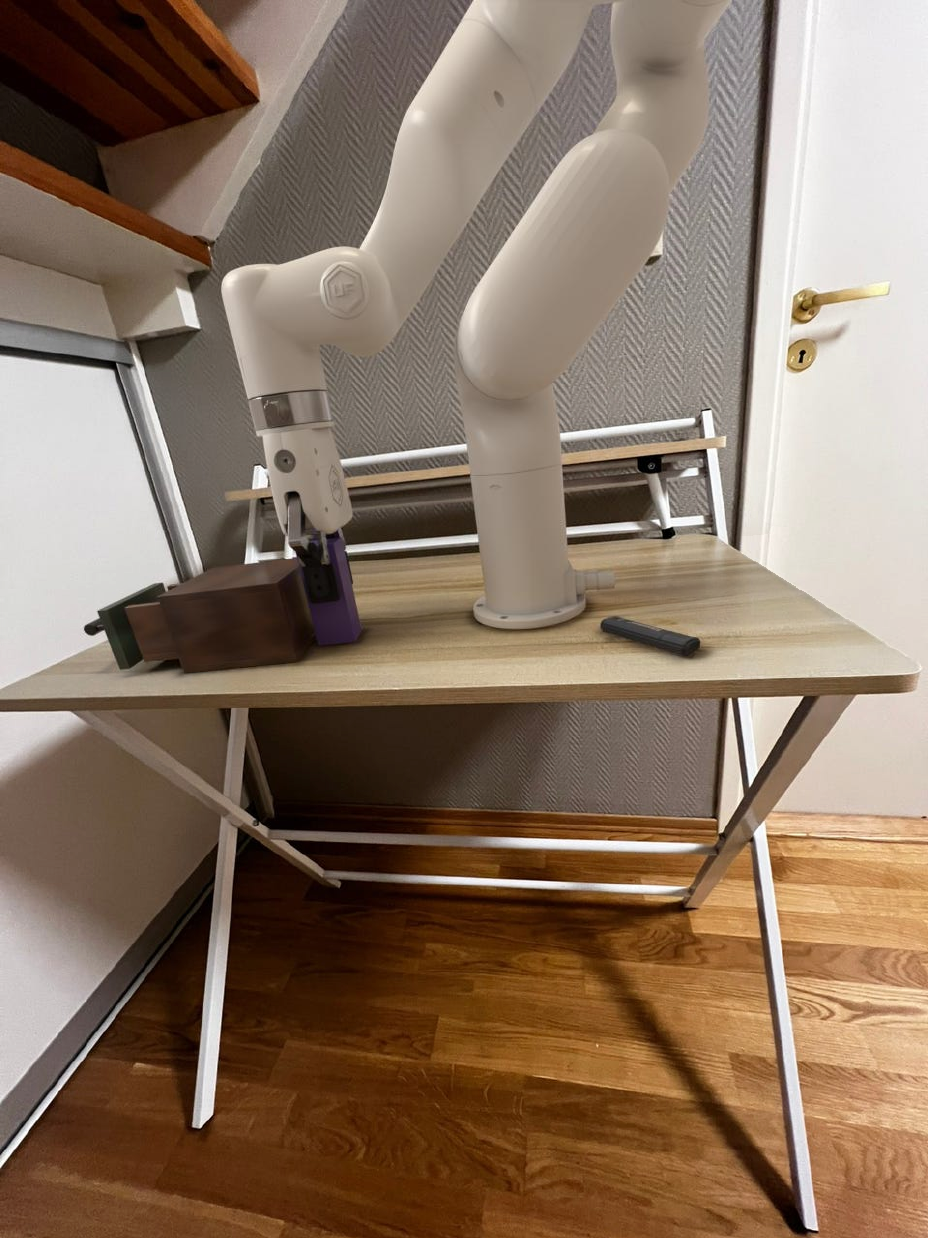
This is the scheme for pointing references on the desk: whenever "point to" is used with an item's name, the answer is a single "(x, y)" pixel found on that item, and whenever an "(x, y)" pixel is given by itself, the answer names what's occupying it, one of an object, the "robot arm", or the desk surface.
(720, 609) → the desk surface
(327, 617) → the purple rectangular block
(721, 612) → the desk surface
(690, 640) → the usb stick
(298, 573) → the cabinet
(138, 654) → the drawer
